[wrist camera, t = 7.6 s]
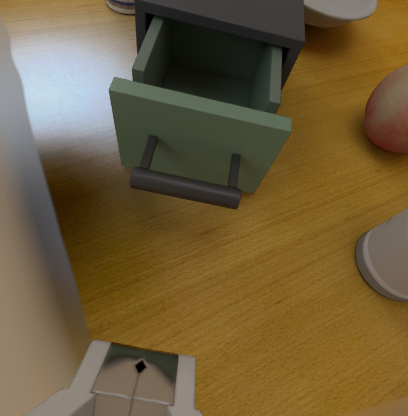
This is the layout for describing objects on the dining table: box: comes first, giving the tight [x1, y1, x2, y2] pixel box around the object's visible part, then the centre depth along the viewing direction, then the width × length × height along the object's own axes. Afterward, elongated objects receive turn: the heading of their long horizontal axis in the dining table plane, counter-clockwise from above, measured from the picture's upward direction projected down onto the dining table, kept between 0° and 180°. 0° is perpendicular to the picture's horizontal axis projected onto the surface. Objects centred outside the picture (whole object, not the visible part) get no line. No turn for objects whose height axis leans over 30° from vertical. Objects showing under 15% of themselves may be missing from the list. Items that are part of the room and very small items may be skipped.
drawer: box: [109, 15, 292, 209], centre depth 23 cm, size 18×11×8 cm, turn 171°
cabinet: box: [134, 0, 305, 91], centre depth 28 cm, size 15×13×10 cm
